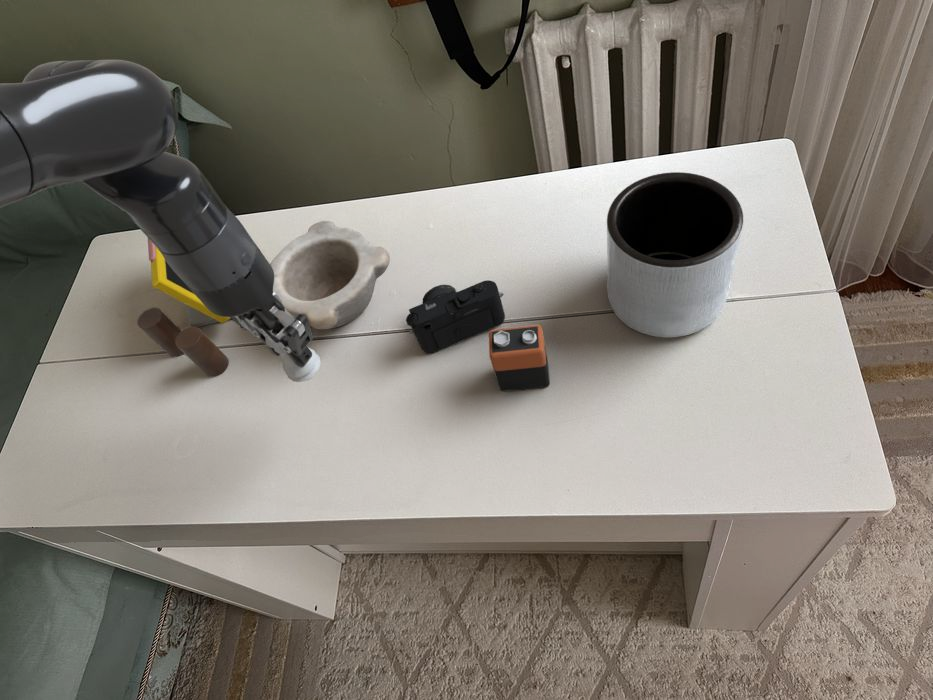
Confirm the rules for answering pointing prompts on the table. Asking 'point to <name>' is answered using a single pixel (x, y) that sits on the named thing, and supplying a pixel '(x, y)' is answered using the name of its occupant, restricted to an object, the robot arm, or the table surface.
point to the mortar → (328, 274)
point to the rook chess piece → (292, 369)
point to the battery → (519, 357)
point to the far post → (160, 330)
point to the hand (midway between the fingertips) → (293, 354)
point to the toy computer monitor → (179, 290)
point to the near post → (202, 351)
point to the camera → (455, 315)
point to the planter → (671, 252)
